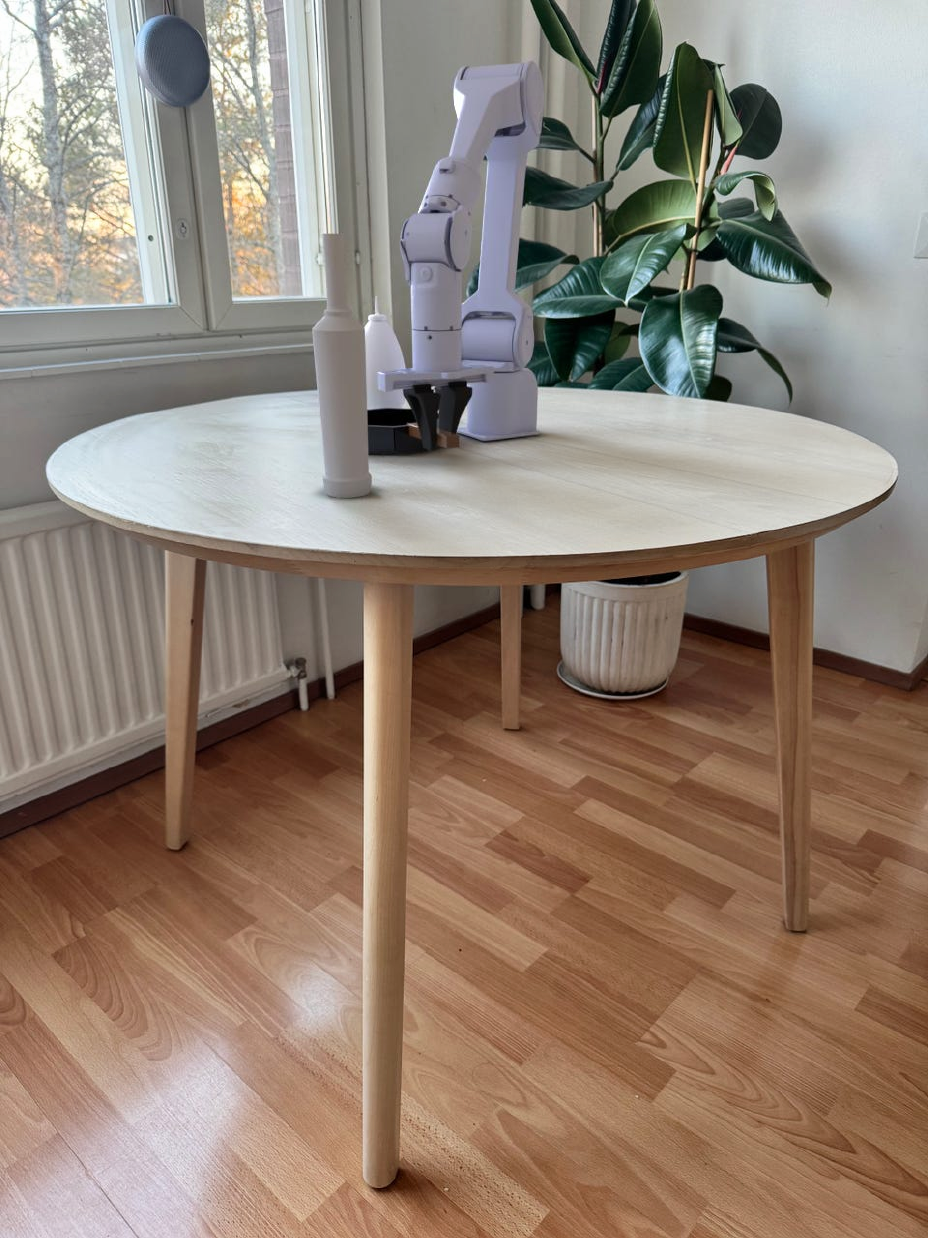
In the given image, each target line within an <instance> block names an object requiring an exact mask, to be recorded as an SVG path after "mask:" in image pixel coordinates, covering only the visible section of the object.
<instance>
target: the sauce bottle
mask: <svg viewBox="0 0 928 1238" xmlns="http://www.w3.org/2000/svg"><path fill="white" fill-rule="evenodd" d="M374 301H375V303H374V304H375V305H374V306H375V311H374V312H375V314H369V315H368V317H367V321H368V322H367V323H366V324H365V326H364V328H365V347H366V384H367V410H369V409H379V408H404V404H405V400H406V398H405V397H404V395H403V389H398V390H393V391H388V392H385V391H382V390H378V375H377V373H378V372H387V371H394V370H401V369H407V368H406V363H405V358H404V354H403V351H402V347H401V344H400V342H399V341H398V338H397V335H396V334H395V331H394V330H393V328H392V327H391V325H390V324H389V322H388V321H387V320H388V317H387V315H385V314H380V308H379V298H378V295H377V294H376V295H375V300H374Z"/></svg>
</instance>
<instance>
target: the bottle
mask: <svg viewBox="0 0 928 1238" xmlns="http://www.w3.org/2000/svg"><path fill="white" fill-rule="evenodd" d="M321 235H322V252H323V257H324V258H323V259H324V261H323V262H324V274H325V276H324V277H325V291H326V292H325V294H326V308H325V309H324V310H323V316H322V317H321V318H320V319H319V321H317V323H316V324H315V325H314V326H313V327H312V328H311V331H312V333H311V334H312V343H313V351H314V352H313V355H314V365H315V376H316V377H315V379H316V387H317V397H318V399H317V401H318V410H319V421H320V433H321V445H322V456H323V466H324V467H323V468H324V474H322V485H323V489H324V492H325V494H326V496H329V497H332V498H338V499H351V498H359V497H364V496H366V495H369V494H370V493H371V490H372V486H373V477H372V474H371V473H370V469H369V468H370V467H369V466H370V464H369V463H370V462H369V461H370V460H369V454H368V422H367V384H366V347H365V326H363V325H362V324H361V323H360V322H359V321H358V319H356V318H355V317H354V316H353V314H352V310H351V309H350V308H349V307H348V293H347V292H348V289H347V272H346V257H345V256H346V249H345V248H346V247H345V246H346V245H345V243H346V242H345V233H322V234H321Z"/></svg>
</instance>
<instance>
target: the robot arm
mask: <svg viewBox="0 0 928 1238" xmlns="http://www.w3.org/2000/svg"><path fill="white" fill-rule="evenodd" d="M454 79H455V80H454V84H453V104H454V109H455V113H456V117H457V122H456V126H455V130H454V134H453V139H452V142H451V146H450V150H449V154H448V156H446V157H443V158H440V160H438V162H437V163H436V164H435V166H434V169H433V172H432V174H431V177H430V179H429V182H428V185H427V187H426V190H425V193H424V195H423V199H422V201H421V204H420V207H419V209H418V212H417V213H416V212H415V213H413V214H412V215H411V216H410V217H409V218H407V219H406V220H405V221H404V222H403V224H402V228H401V233H400V239H399V252H400V256H401V259H402V262H403V265H404V271H405V281H406V285H407V286H409V287H410V312H411V313H410V316H411V317H410V318H411V319H410V320H411V351H412V352H411V355H412V356H411V357H412V361H411V362H412V367H410V368H406V369H401V370H394V371H387V372H378V373H377V375H378V390H382V391H385V392H388V391H393V390H398V389H403V395H404V397H405V400H406V402H407V404H408V407H409V409H411V410H412V412H413V414H414V417H415V419H416V422H417V425H418V428H419V432H420V435H421V440H422V444H423V448H425V449H428V451H431V452H432V451H437V448H436V446H437V415H438V413H439V429H442V430H445V431H448V432H451V433H454V434H459V435H464V436H467V437H469V438H473V439H476V440H479V441H482V442H488V441H497V440H505V439H512V438H514V439H515V438H520V437H522V438H523V437H529V436H537V435H540V433H541V431H540V430H538V429H537V428H538V402H539V401H538V399H539V398H538V395H539V388H538V387H539V386H538V381H537V378H536V375H535V374H534V372H533V371H532V370H531V369H530V368H527V367H526V366H527V365H528V363H529V362H530V361H531V359H532V357H533V353H534V348H535V333H534V332H535V331H534V313H533V310H532V308H531V307H530V305H529V304H528V303H527V302H526V301H525V300H524V299H523V298H521V297H520V296H519V295H518V294H517V293H516V280H517V269H518V259H519V258H518V257H519V245H520V235H521V224H522V223H521V221H522V212H523V202H524V201H523V200H524V188H525V179H526V170H527V169H526V168H527V162H528V155H529V153H530V152H531V151H533V150H534V149H535V148H536V147H538V146H539V145H540V138H541V134H542V128H543V127H542V126H543V118H544V117H543V115H544V106H545V90H544V80H543V75H542V72H541V69H540V67H539V65H537V63H536V62H535V61H534V60H527V61H525V62H516V63H504V64H492V65H483V66H482V65H481V66H469V65H464V66H461V67H460V69H459V70H458V72H457V74H456V76H455V78H454ZM485 157H486V160H487V168H486V169H487V170H486V182H485V195H484V206H483V207H484V208H483V219H482V220H483V221H482V235H481V248H480V260H479V273H478V284H477V285H478V286H477V288H478V289H477V290H476V291H475V292H474V293H472V295H470V296H469V297H468V298H467V299H466V300H464V302H463V300H462V299H463V298H462V296H463V295H462V294H463V291H462V289H463V287H462V282H463V279H462V277H463V275H462V272H463V269H465V268H466V266H467V265H468V261H469V260H470V257H471V249H472V235H473V228H474V227H473V223H472V218H473V215H474V212H475V210H476V206H477V204H478V200H479V198H480V194H481V191H482V189H483V178H482V173H481V172H480V171H479V169H480V167H481V166H482V163H483V160H484V159H485ZM509 317H510V318H509ZM435 380H436V381H435ZM432 387H434V388H432ZM465 410H466V426H465V427H464V426H463V427H459V426H460V422H461V420H462V417H463V415H464V412H465Z"/></svg>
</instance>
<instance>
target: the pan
mask: <svg viewBox="0 0 928 1238" xmlns="http://www.w3.org/2000/svg"><path fill="white" fill-rule="evenodd" d="M367 422H368V455H406V454H407V455H408V454H416V453H423V452H429V450H428V449H425V448H423V444H422V440H421V435H420V432H419V428H418V425H417V422H416V419H415V417H414V414H413V412H412V410H411V408H404V407H402V408H379V409H369V410H367ZM460 435H461V434H458V433H456V434H454V433H451V432H448V431H445V430H442V429H439V412H438V415H437V446H436V449H438V448H440V447H442V448H444V449H455V448H460V447H461V440H460V439H461V436H460Z"/></svg>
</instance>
